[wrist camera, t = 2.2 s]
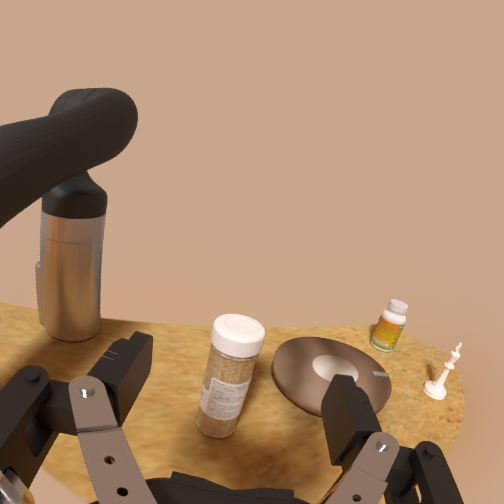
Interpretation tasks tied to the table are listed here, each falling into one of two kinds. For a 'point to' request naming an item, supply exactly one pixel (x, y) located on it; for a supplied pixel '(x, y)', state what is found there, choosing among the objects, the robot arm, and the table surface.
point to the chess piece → (441, 377)
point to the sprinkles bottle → (228, 373)
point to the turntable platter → (326, 371)
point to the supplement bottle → (389, 326)
